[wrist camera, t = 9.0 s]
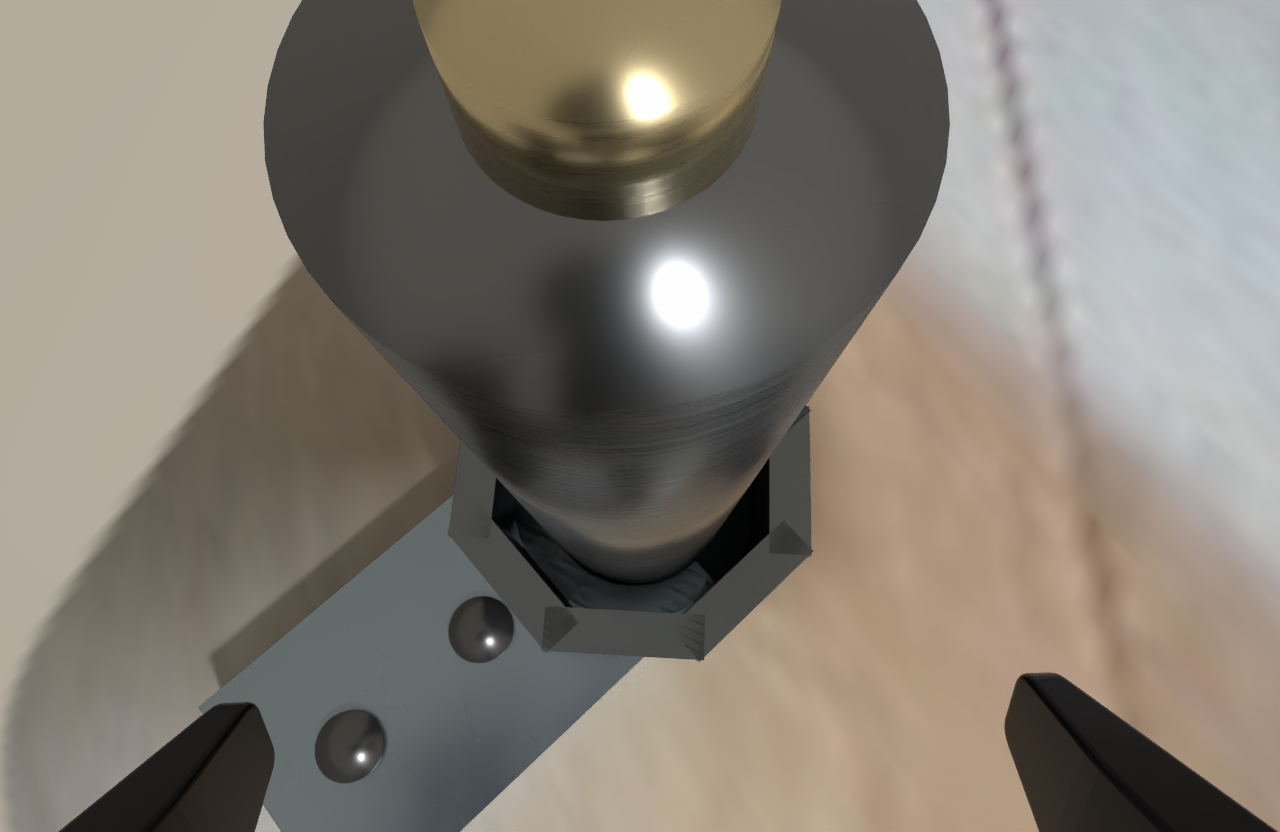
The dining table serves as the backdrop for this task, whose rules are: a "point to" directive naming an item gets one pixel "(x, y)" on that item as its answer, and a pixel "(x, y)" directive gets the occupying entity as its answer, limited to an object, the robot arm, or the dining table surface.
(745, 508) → the hinge leaf
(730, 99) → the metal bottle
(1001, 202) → the dining table surface
